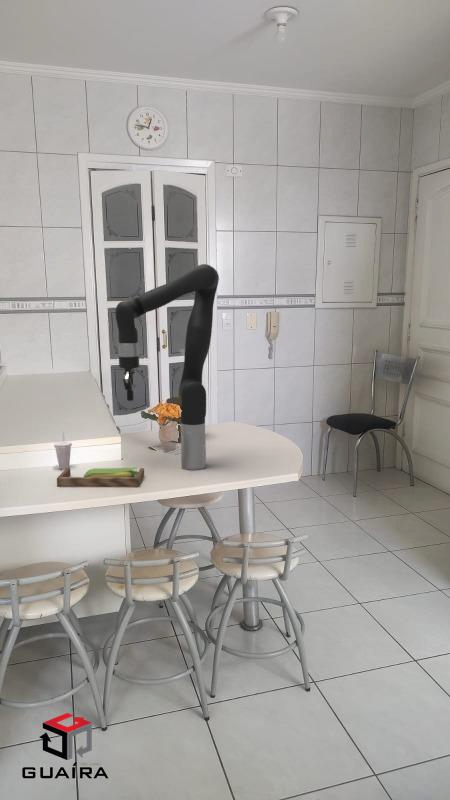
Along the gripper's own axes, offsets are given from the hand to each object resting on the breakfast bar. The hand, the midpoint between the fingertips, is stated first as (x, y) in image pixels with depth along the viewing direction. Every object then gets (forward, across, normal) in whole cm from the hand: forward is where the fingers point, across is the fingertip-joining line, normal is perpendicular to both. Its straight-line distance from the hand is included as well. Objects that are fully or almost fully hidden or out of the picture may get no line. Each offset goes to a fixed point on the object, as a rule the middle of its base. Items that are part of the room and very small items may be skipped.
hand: (130, 400), depth 213 cm
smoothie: (+25, -6, +25) cm, 36 cm away
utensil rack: (+25, -22, +7) cm, 34 cm away
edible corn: (+26, -20, +3) cm, 33 cm away
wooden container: (+25, +38, -16) cm, 48 cm away
